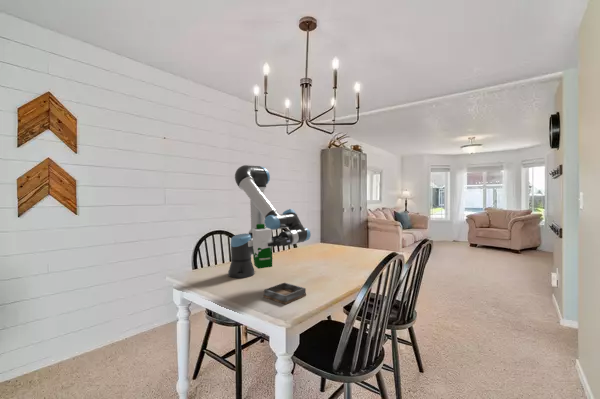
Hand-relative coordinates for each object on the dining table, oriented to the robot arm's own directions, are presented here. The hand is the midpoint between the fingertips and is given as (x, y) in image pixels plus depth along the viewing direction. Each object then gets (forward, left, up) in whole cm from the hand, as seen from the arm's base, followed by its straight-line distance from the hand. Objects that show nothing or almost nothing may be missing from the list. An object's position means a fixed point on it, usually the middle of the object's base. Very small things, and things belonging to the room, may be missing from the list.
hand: (255, 244), depth 138 cm
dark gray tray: (+11, +8, -24) cm, 28 cm away
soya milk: (0, +5, -11) cm, 12 cm away
